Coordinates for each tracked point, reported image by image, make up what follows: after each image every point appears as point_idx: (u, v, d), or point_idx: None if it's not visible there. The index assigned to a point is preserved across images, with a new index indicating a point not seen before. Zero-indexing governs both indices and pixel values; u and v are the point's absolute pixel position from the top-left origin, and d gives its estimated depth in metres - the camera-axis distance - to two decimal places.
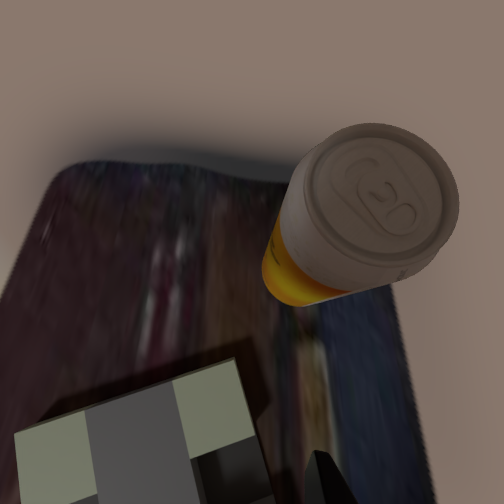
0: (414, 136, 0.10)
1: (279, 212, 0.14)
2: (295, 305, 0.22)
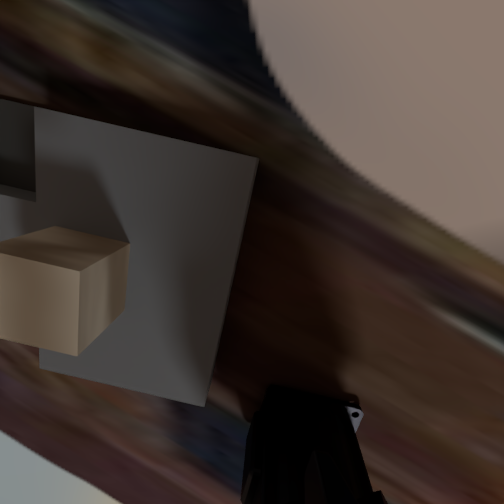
0: None
1: None
2: None
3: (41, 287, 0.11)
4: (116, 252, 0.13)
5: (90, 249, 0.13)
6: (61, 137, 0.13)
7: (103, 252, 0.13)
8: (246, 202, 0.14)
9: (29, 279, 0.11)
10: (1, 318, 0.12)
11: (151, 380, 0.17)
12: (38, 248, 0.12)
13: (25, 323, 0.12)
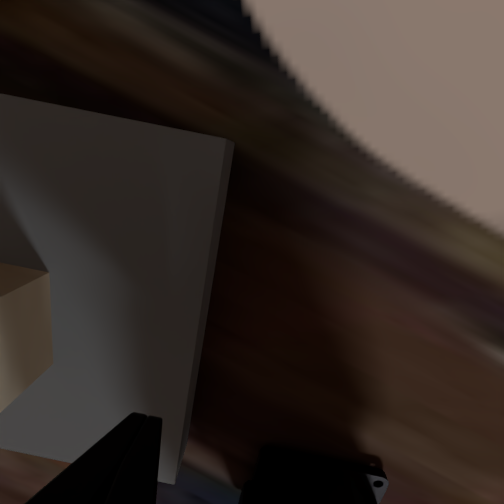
0: None
1: None
2: None
3: None
4: (17, 291, 0.09)
5: None
6: None
7: None
8: (214, 208, 0.09)
9: None
10: None
11: None
12: None
13: None
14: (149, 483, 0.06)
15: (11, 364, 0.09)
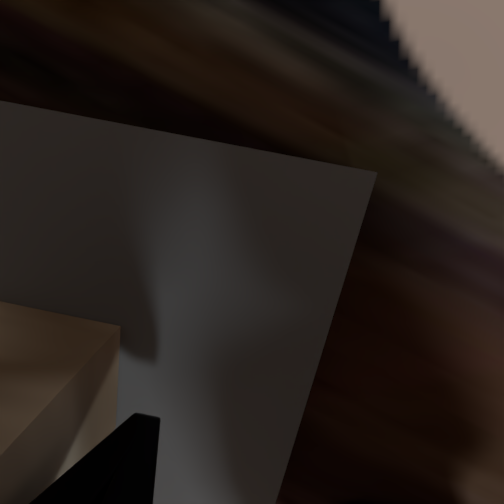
0: None
1: None
2: None
3: None
4: (93, 357, 0.07)
5: (39, 362, 0.07)
6: None
7: (65, 366, 0.07)
8: (349, 254, 0.07)
9: None
10: None
11: None
12: None
13: None
14: (147, 482, 0.06)
15: (82, 444, 0.07)
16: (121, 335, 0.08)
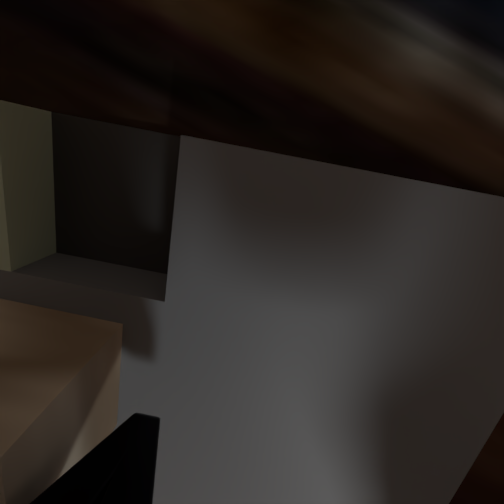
0: None
1: None
2: None
3: None
4: (96, 355, 0.07)
5: (43, 359, 0.07)
6: (228, 190, 0.07)
7: (69, 363, 0.07)
8: None
9: None
10: None
11: None
12: None
13: None
14: (146, 482, 0.06)
15: (85, 441, 0.07)
16: (310, 372, 0.08)
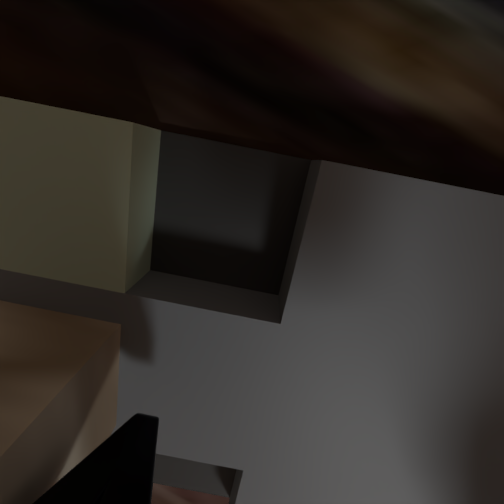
0: None
1: None
2: None
3: None
4: (94, 356, 0.07)
5: (40, 361, 0.07)
6: (362, 215, 0.07)
7: (66, 364, 0.07)
8: None
9: None
10: None
11: None
12: None
13: None
14: (144, 482, 0.06)
15: (83, 443, 0.07)
16: (421, 393, 0.08)
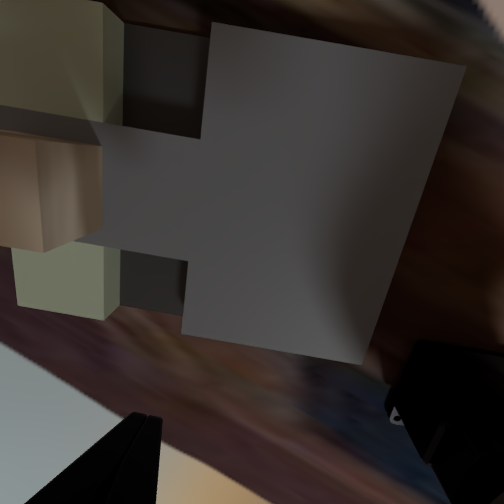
0: None
1: None
2: None
3: None
4: (84, 146, 0.12)
5: (53, 140, 0.11)
6: (239, 57, 0.12)
7: (68, 142, 0.11)
8: (445, 121, 0.12)
9: None
10: None
11: (306, 339, 0.16)
12: None
13: None
14: (149, 483, 0.06)
15: (79, 205, 0.12)
16: (293, 187, 0.13)
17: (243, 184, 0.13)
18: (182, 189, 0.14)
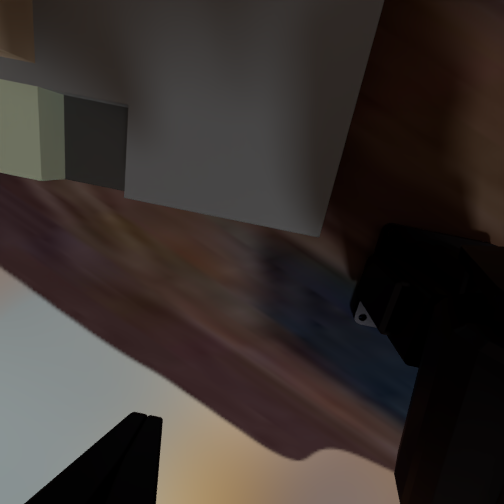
0: None
1: None
2: None
3: None
4: None
5: None
6: None
7: None
8: None
9: None
10: None
11: (258, 204, 0.15)
12: None
13: None
14: (149, 483, 0.06)
15: None
16: (238, 7, 0.12)
17: (184, 4, 0.12)
18: (118, 11, 0.12)
